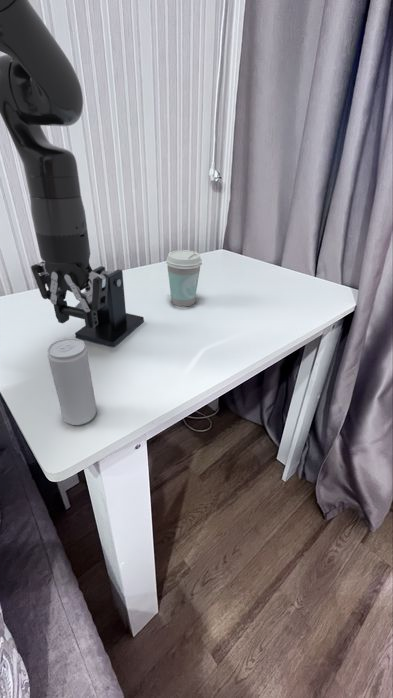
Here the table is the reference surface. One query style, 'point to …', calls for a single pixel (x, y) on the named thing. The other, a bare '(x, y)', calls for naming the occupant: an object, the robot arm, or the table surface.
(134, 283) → the table surface
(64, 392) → the beverage can
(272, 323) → the table surface
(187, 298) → the coffee cup
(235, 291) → the table surface
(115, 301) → the bracket
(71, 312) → the lever
